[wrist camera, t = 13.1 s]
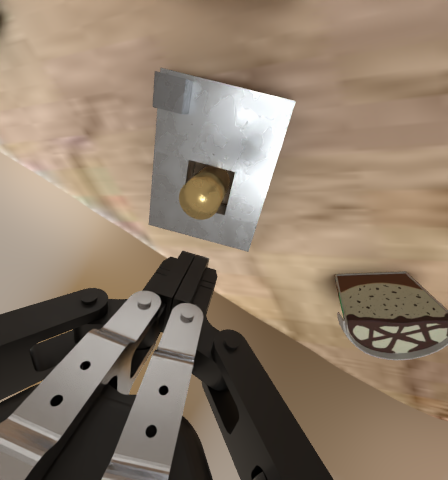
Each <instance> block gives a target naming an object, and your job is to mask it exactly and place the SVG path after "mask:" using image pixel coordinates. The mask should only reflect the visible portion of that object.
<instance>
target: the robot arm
mask: <svg viewBox="0 0 448 480" xmlns="http://www.w3.org/2000/svg"><path fill="white" fill-rule="evenodd" d="M208 262H209V258H206V257H203V256H199V255H196V254H192V253H189V252H185V251H182V252H181V254H180V256H179V257H178V259H177V258H173V257H169V258H168V259H166V260H164V261H163V262H162V264H161V265H160V266H159V268H158V269H157V271H156V272H155V273H154V275H153V276H152V278H151V279H150V280H149V282H148V283H147V285H146V286H145V288H144V289H143V290H142V291H139V292H136V293H134V294H133V295H131V296H130V297H129V298H128V299H119V300H118V299H108V295H107V294H106V293H105V292H104V291H103V290H101V289H97V288H88V289H83V290H80V291H77V292H73V293H70V294H67V295H63V296H60V297H57V298H54V299H51V300H47V301H44V302H40V303H37V304H34V305H30V306H27V307H24V308H20V309H17V310H13V311H10V312H7V313H4V314H0V400H1V399H4V398H6V397H8V396H10V395H12V394H14V393H16V392H18V391H21V390H23V389H24V388H27V387H29V386H31V385H33V384H35V383H37V382H39V381H42V380H43V381H42V382H41V383H40V384H38V385H35V386H33V387H30V388H28V389H26V390H24V391H22V392H20V393H18V394H16V395H14V396H12V397H10V398H8V399H6V400H4V401H2V402H1V403H0V480H213V479H212V475H211V472H210V469H209V466H208V463H207V459H206V456H205V453H204V450H203V447H202V444H201V441H200V439H199V437H198V435H197V433H196V431H195V430H194V428H193V427H192V425H191V424H190V423H189V422H188V420H186V419H185V418H184V417H183V416H182V414H183V409H184V405H185V400H186V396H187V391H188V386H189V382H190V378H191V373H192V374H193V375H195V376H196V377H197V378H199V379H200V380H201V381H202V386H203V389H204V392H205V394H206V396H207V399H208V401H209V403H210V406H211V408H212V411H213V413H214V416H215V418H216V421H217V423H218V425H219V428H220V430H221V433H222V435H223V438H224V440H225V443H226V445H227V447H228V450H229V452H230V455H231V457H232V460H233V462H234V465H235V467H236V469H237V472H238V474H239V477H240V479H241V480H333V478H332V476H331V475H330V473H329V472H328V470H327V469H326V467H325V465H324V464H323V462H322V461H321V459H320V457H319V456H318V454H317V453H316V451H315V449H314V448H313V446H312V445H311V443H310V441H309V440H308V438H307V437H306V435H305V433H304V432H303V430H302V429H301V427H300V425H299V424H298V422H297V421H296V419H295V418H294V416H293V414H292V413H291V411H290V410H289V408H288V406H287V405H286V403H285V402H284V400H283V398H282V397H281V395H280V394H279V392H278V390H277V389H276V387H275V386H274V384H273V383H272V381H271V379H270V378H269V376H268V374H267V373H266V371H265V370H264V368H263V367H262V365H261V363H260V362H259V360H258V359H257V357H256V356H255V354H254V353H253V351H252V349H251V347H250V346H249V344H248V343H247V341H246V340H245V338H244V337H243V336H242V335H241V334H240V333H238V332H236V331H234V330H223V331H219V330H217V329H216V328H214V327H213V326H212V325H211V324H210V323H209V322H208V320H207V317H206V314H207V311H208V307H209V304H210V301H211V298H212V295H213V291H214V287H215V284H216V280H217V274H216V270H214V269H211V268H207V266H208ZM72 329H73V330H72ZM69 330H72V331H69ZM66 331H69V332H67V333H65V334H61V333H64V332H66ZM160 332H163V336H162V338H161V341H160V343H159V346H158V348H157V350H155V351H154V353H153V355H152V357H151V360H150V363H149V365H148V368H147V370H146V373H145V375H144V378H143V381H142V383H141V385H140V388H139V391H138V393H137V395H129V392H130V389H131V387H132V384H133V382H134V381H135V379H136V377H137V376H138V374H139V372H140V370H141V369H142V367H143V365H144V363H145V362H146V360H147V358H148V357H149V355H150V354H151V352H152V350H153V348H154V346H155V344H156V340H157V338H158V336H159V334H160ZM58 334H61V335H59V336H56V335H58ZM54 336H56V337H54ZM51 337H54V338H51ZM48 338H51V339H49V340H46V339H48ZM43 340H46V341H43ZM41 341H43V342H41ZM38 342H41V343H38ZM37 343H38V344H37Z"/></svg>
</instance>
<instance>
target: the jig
mask: <svg viewBox="0 0 448 480" xmlns="http://www.w3.org/2000/svg"><path fill="white" fill-rule="evenodd" d="M295 102H296V101H293V100H289V99H285V98H281V97H277V96H273V95H269V94H265V93H261V92H256V91H252V90H248V89H244V88H240V87H236V86H232V85H228V84H224V83H220V82H216V81H212V80H208V79H204V78H200V77H196V76H192V75H188V74H184V73H180V72H176V71H172V70H168V69H164V68H161V69H160V72H157V71H155V79H154V94H153V107H155V108H158V109H157V122H156V136H155V149H154V162H153V175H152V189H151V202H150V215H149V225H152V226H156V227H159V228H163V229H167V230H170V231H174V232H178V233H181V234H185V235H189V236H192V237H196V238H200V239H203V240H207V241H211V242H215V243H218V244H222V245H226V246H229V247H233V248H237V249H240V250H244V251H249V248H250V245H251V241H252V238H253V235H254V232H255V229H256V226H257V222H258V219H259V216H260V213H261V210H262V206H263V203H264V200H265V197H266V194H267V191H268V187H269V184H270V181H271V178H272V175H273V172H274V168H275V165H276V162H277V159H278V156H279V152H280V149H281V146H282V143H283V140H284V137H285V133H286V130H287V127H288V124H289V121H290V118H291V114H292V111H293V108H294V105H295ZM195 162H199V163H203V164H207V165H210V166H214V167H218V168H222V169H226V170H230V171H233V172H235V175H234V179H233V183H232V187H231V192H230V196H229V200H228V204H227V206H226V205H222V204H220V206H219V208H218V210H217V212H216V213H215V214H214V215H213V216H212V217H210V218H208V219H204V220H198V219H194V218H192V217H190V216H188V215H187V214H186V213H185V212H184V211H183V209H182V208H181V206H180V203H179V193H180V190H181V188H182V187H183V185H184V184H186V183H187V182H188V181H189V180H190V179H191V178H193V174H194V167H195Z"/></svg>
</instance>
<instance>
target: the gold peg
mask: <svg viewBox="0 0 448 480" xmlns="http://www.w3.org/2000/svg"><path fill="white" fill-rule="evenodd" d="M229 186H230V179H229V175H228V173H227V172H226V171H225V170H224V169H222V168H218V167H214V166H210V165H209V166H206V167H204V168H203V169H202V170H201V171H200V172H198V173H197V174H196V175H195V176H194V177H193V178H191V179H190V180H189V181H188V182H187V183H186V184H184V185H183V187H182V188H181V190H180V193H179V203H180V206H181V208H182V209H183V211H184V212H185V213H186V214H187V215H188V216H190V217H192V218H194V219H198V220H204V219H208V218H210V217H212V216H213V215H214V214H215V213H216V212H217V210H218V208H219V206H220V204H221V202H222V201H223V199H224V197H225V195H226V193H227V191H228V189H229Z"/></svg>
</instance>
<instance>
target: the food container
mask: <svg viewBox="0 0 448 480" xmlns="http://www.w3.org/2000/svg"><path fill="white" fill-rule="evenodd" d="M335 281H336V286H337V290H338V295H339V300H340V304H341V309H342V313H343V318H344V319H343V318H342V316H341V315H340V314H339V312H338V313H337V314H338V321H339V324H340V326H341V328H342V330H343V331H344V333H345V334H346V336H347V337H348V339H349V340H350V341H351V342H352V343H353V344H354V345H355V346H356V347H357V348H359V349H360V350H361V351H363V352H365V353H367V354H369V355H371V356H374V357H378V358H382V359H388V360H408V359H415V358H419V357H423V356H426V355H430V354H432V353H434V352H437V351H439V350H440V349H442V348H444V347H446V346H447V345H448V310H447V309H446V308H445V307H444V306H443V305H442V304H441V303H439V302H438V301H437V300H436V299H435V298H434V297H433V296H432V295H431V294H430V293H429V292H428V291H426V290H425V289H424V288H423V287H422V286H421V285H420V284H419V283H418V282H417V281H416V280H415V279H413V278H412V277H411V276H410V275H409V274H408V273H407V272H381V273H353V274H335Z"/></svg>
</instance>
